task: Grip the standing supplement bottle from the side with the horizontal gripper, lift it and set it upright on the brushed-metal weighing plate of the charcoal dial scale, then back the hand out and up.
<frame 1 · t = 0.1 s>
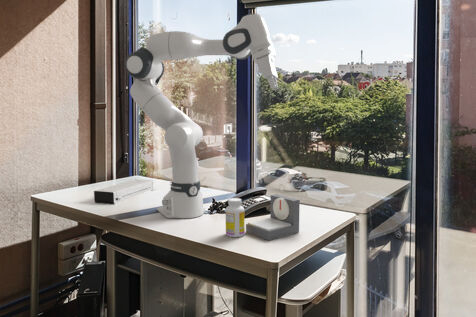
hand: (275, 89, 156), 52 cm above the table, tool tilted 20°, fingers open, 8 cm apart
dial scale: (269, 233, 144), on the table
laminator: (126, 197, 205), on the table
supplement bottle: (235, 235, 142), on the table
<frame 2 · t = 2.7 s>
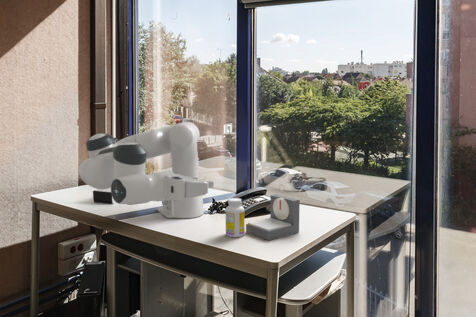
hand: (204, 181, 131), 21 cm above the table, tool horizontal, fingers open, 8 cm apart
nothing on the table moved.
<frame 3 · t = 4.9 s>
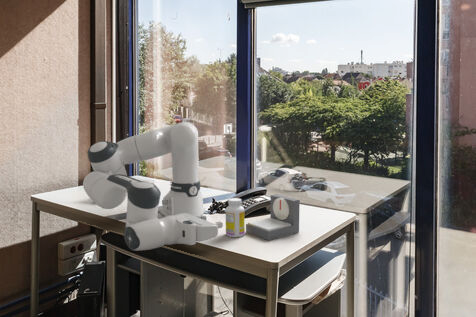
hand: (213, 221, 135), 7 cm above the table, tool horizontal, fingers open, 8 cm apart
nothing on the table moved.
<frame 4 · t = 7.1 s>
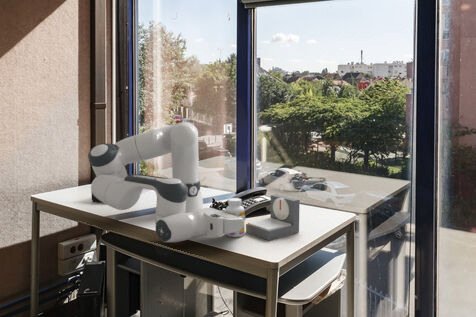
hand: (237, 215, 141), 7 cm above the table, tool horizontal, fingers closed on supplement bottle, 7 cm apart
supplement bottle: (235, 235, 142), on the table, touching gripper
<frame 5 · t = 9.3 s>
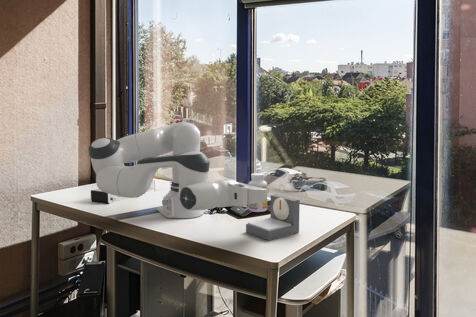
hand: (260, 188, 140), 17 cm above the table, tool horizontal, fingers closed on supplement bottle, 7 cm apart
supplement bottle: (257, 210, 141), point 9 cm above the table, touching gripper
when the fingers open (12 cm above the table, at t = 11.3 s): supplement bottle stays where it is, resting on dial scale.
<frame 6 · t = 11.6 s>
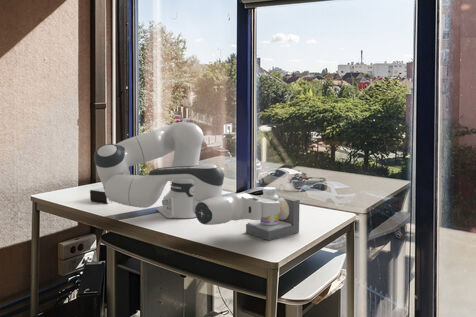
hand: (271, 200, 143), 12 cm above the table, tool horizontal, fingers open, 8 cm apart
supplement bottle: (269, 223, 143), point 3 cm above the table, touching dial scale
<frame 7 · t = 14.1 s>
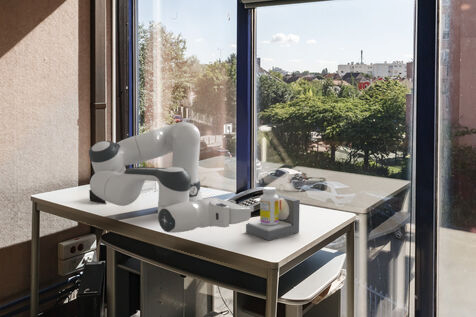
hand: (243, 205, 135), 12 cm above the table, tool horizontal, fingers open, 8 cm apart
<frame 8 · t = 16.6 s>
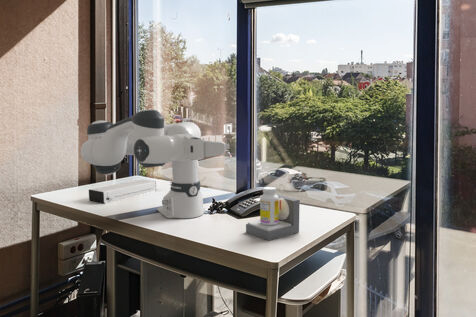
hand: (220, 145, 138), 32 cm above the table, tool horizontal, fingers open, 8 cm apart
at the end: supplement bottle inside the target area on the dial scale (0.1 cm from its centre), point 3.4 cm above the dial scale's base; supplement bottle tilted 0°; the gripper is holding nothing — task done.
